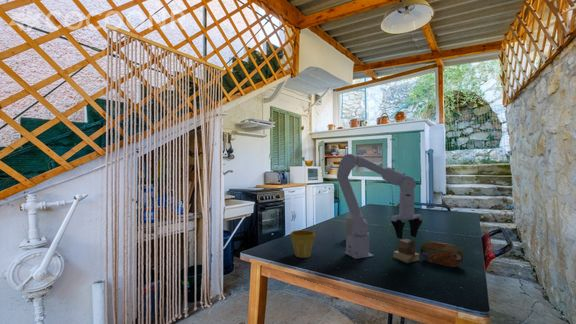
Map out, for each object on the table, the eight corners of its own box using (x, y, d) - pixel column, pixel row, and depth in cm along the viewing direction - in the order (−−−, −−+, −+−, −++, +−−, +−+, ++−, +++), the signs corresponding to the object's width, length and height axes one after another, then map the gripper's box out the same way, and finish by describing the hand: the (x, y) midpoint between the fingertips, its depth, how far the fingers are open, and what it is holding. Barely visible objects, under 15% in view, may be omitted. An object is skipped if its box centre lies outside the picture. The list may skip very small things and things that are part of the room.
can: (356, 243, 134) (356, 219, 134) (342, 240, 139) (342, 217, 139) (362, 240, 140) (362, 217, 140) (348, 237, 145) (349, 215, 145)
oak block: (407, 263, 108) (407, 256, 108) (393, 258, 114) (393, 251, 114) (419, 261, 111) (419, 254, 111) (405, 256, 117) (405, 249, 117)
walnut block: (406, 255, 110) (406, 242, 110) (398, 251, 114) (398, 239, 114) (415, 253, 111) (415, 241, 111) (406, 250, 115) (406, 238, 116)
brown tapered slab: (420, 260, 111) (420, 239, 111) (422, 258, 114) (422, 238, 114) (462, 269, 101) (462, 247, 101) (464, 267, 104) (464, 245, 104)
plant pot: (297, 250, 123) (297, 228, 123) (318, 254, 118) (318, 231, 118) (286, 256, 114) (286, 233, 114) (308, 261, 109) (308, 236, 109)
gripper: (400, 207, 106) (400, 241, 106) (427, 205, 112) (427, 238, 112) (387, 204, 113) (387, 236, 113) (414, 203, 118) (413, 234, 118)
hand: (406, 237), depth 113 cm, fingers open, 7 cm apart
